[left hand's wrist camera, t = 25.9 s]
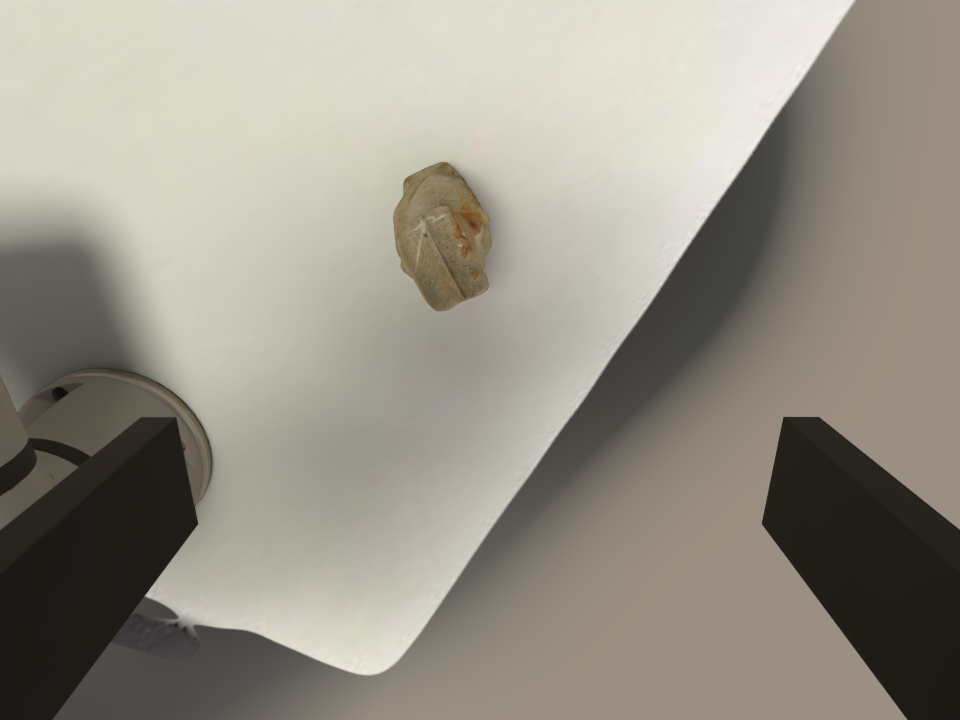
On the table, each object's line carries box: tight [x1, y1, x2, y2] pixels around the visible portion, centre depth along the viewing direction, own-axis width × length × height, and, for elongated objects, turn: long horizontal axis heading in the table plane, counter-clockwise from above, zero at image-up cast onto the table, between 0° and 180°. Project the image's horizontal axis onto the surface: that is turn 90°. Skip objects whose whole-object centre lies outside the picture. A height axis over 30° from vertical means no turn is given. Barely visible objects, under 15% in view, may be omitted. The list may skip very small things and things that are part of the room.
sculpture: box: [393, 162, 491, 311], centre depth 35 cm, size 6×7×15 cm
